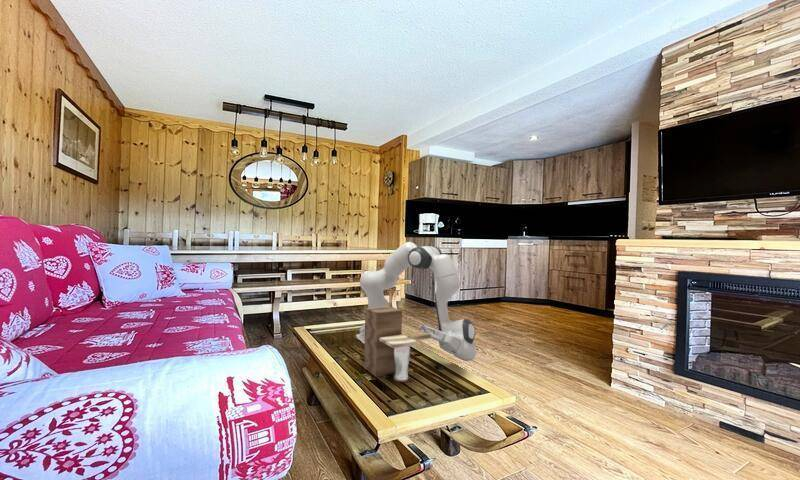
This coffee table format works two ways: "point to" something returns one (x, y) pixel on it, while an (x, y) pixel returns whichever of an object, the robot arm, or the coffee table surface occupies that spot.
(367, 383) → the coffee table surface
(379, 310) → the stand
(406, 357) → the beer glass
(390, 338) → the beige t-shaped block
